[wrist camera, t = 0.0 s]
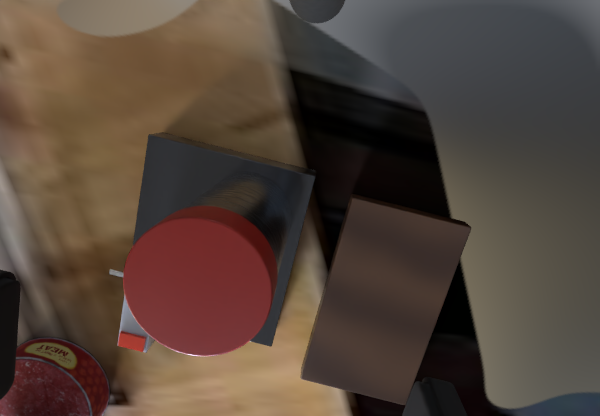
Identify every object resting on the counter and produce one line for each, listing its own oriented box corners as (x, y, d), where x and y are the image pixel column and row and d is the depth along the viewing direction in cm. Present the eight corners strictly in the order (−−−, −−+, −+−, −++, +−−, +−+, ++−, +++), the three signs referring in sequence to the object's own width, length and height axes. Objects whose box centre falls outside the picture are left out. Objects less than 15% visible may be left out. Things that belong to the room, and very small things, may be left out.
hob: (144, 127, 30) (127, 129, 28) (316, 170, 30) (315, 176, 28) (119, 305, 34) (103, 321, 32) (271, 343, 34) (267, 363, 32)
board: (351, 192, 31) (352, 197, 29) (465, 221, 31) (472, 227, 29) (301, 367, 35) (300, 379, 33) (401, 393, 35) (405, 405, 33)
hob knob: (157, 254, 30) (123, 285, 25) (183, 261, 30) (154, 293, 25) (149, 308, 31) (115, 347, 26) (174, 314, 31) (144, 355, 26)
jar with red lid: (212, 160, 28) (132, 199, 16) (303, 183, 28) (288, 239, 17) (195, 246, 30) (113, 336, 18) (282, 268, 30) (254, 372, 18)
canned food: (135, 352, 41) (132, 451, 33) (61, 407, 42) (41, 516, 34) (31, 300, 34) (-4, 409, 26) (-54, 367, 35) (-113, 493, 27)
